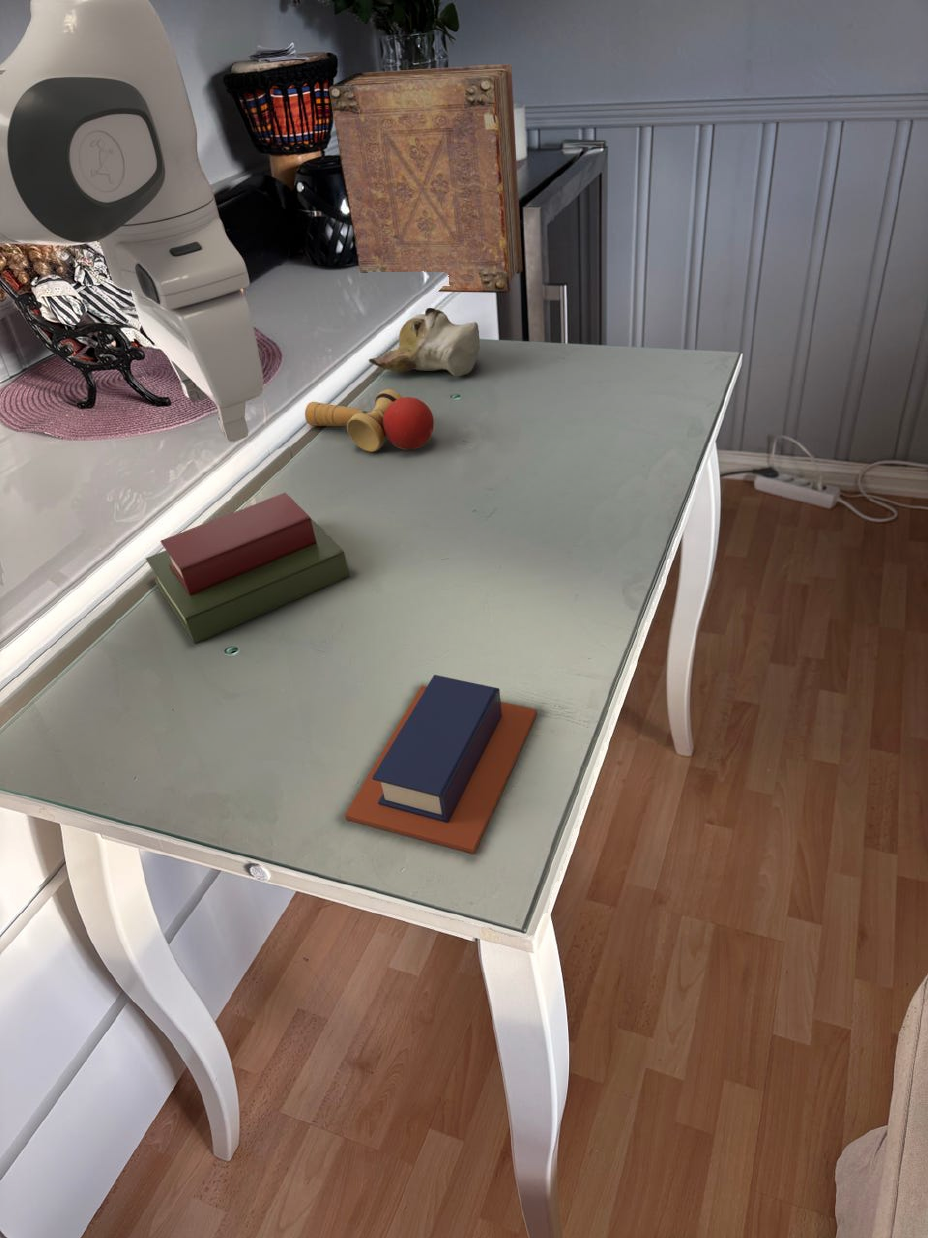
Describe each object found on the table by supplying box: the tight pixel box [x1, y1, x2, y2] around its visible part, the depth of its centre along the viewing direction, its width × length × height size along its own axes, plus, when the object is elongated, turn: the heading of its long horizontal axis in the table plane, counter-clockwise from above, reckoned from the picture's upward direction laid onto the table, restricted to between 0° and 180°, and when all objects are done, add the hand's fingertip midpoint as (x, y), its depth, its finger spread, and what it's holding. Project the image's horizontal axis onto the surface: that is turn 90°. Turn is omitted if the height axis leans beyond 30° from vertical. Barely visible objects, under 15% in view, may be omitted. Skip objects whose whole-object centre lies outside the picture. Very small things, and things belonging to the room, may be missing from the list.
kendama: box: [304, 388, 435, 453], centre depth 109 cm, size 8×6×18 cm
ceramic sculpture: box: [368, 307, 481, 378], centre depth 122 cm, size 11×9×15 cm
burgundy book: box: [160, 492, 317, 596], centre depth 87 cm, size 13×6×3 cm, turn 123°
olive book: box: [145, 518, 351, 644], centre depth 89 cm, size 16×12×3 cm
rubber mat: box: [344, 685, 538, 854], centre depth 69 cm, size 14×10×1 cm
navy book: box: [372, 674, 502, 823], centre depth 68 cm, size 11×6×3 cm, turn 158°
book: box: [328, 63, 523, 294], centre depth 141 cm, size 25×9×30 cm, turn 73°
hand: (216, 416), depth 76 cm, fingers open, 8 cm apart
